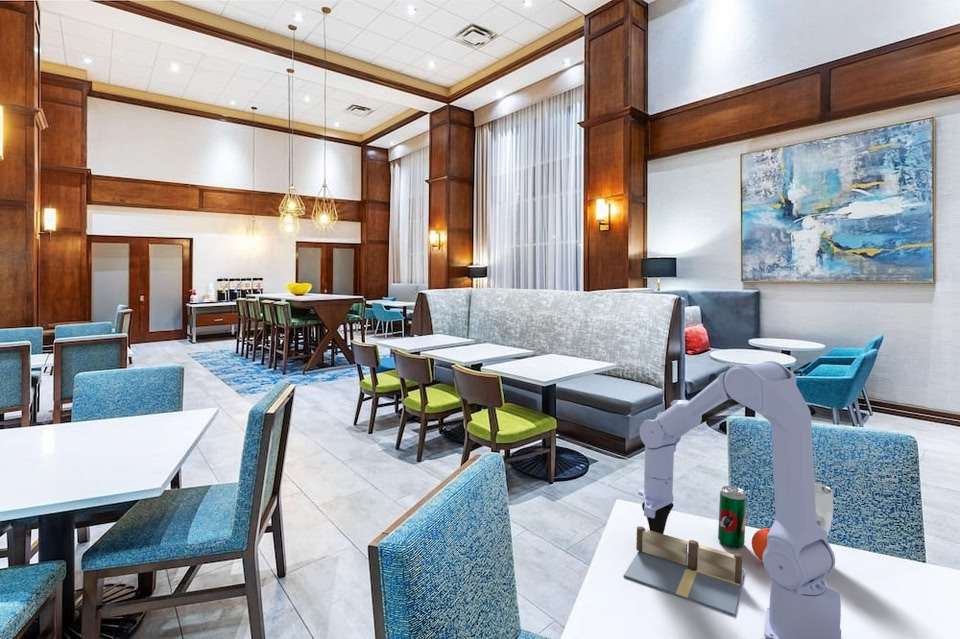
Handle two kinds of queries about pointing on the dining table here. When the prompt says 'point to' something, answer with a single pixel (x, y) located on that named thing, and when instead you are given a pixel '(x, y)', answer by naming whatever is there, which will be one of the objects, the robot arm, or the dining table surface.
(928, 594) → the dining table surface
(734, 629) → the dining table surface
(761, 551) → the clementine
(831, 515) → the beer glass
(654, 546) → the panel
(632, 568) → the card
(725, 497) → the soda can
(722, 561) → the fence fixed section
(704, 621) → the dining table surface
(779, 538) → the robot arm
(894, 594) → the dining table surface
